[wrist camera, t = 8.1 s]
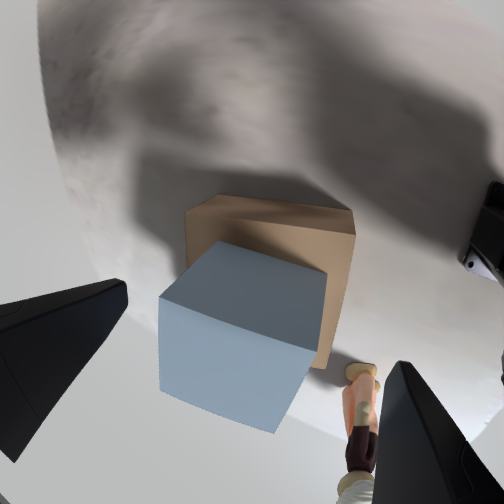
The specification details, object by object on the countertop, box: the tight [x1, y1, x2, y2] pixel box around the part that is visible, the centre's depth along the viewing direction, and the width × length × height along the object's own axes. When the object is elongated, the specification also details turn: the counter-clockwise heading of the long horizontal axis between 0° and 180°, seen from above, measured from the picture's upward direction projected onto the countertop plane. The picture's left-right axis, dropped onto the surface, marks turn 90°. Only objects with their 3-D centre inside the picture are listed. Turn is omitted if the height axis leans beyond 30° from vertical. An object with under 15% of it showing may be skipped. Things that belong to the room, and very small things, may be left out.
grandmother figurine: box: [336, 363, 380, 504], centre depth 17 cm, size 8×4×13 cm, turn 31°
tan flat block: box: [185, 195, 356, 369], centre depth 19 cm, size 9×9×5 cm
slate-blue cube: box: [158, 240, 328, 434], centre depth 14 cm, size 6×6×6 cm
